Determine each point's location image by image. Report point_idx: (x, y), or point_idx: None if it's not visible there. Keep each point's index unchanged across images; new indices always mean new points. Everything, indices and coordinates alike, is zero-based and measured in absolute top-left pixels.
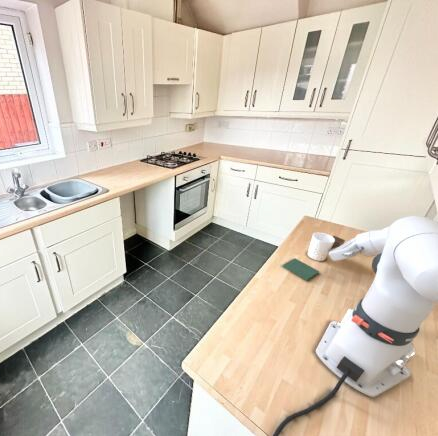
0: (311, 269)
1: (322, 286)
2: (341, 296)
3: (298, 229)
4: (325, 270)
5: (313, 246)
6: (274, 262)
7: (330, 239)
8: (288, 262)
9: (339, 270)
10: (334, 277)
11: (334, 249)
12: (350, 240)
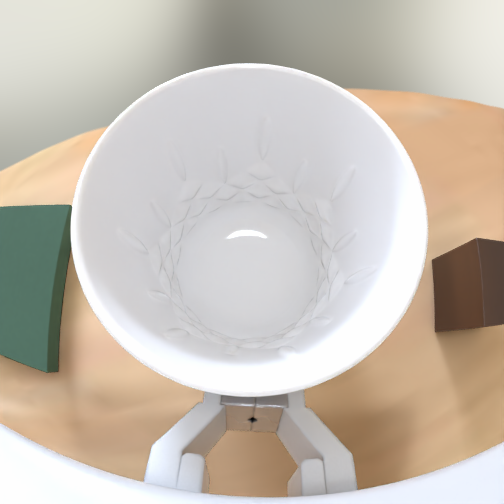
0: (31, 329)
1: (2, 410)
2: None
3: (429, 96)
4: (122, 396)
5: (151, 209)
6: (15, 172)
7: (381, 281)
8: (16, 209)
9: (207, 457)
10: (104, 451)
11: (3, 451)
12: (473, 497)
